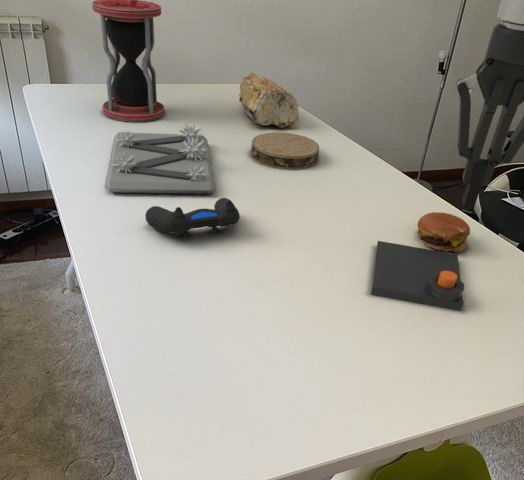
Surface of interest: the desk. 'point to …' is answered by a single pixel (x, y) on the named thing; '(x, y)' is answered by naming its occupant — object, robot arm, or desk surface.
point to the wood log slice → (284, 150)
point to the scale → (416, 275)
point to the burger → (443, 231)
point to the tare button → (447, 279)
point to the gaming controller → (193, 217)
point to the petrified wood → (267, 102)
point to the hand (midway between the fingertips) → (467, 204)
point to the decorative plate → (160, 163)
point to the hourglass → (130, 59)
